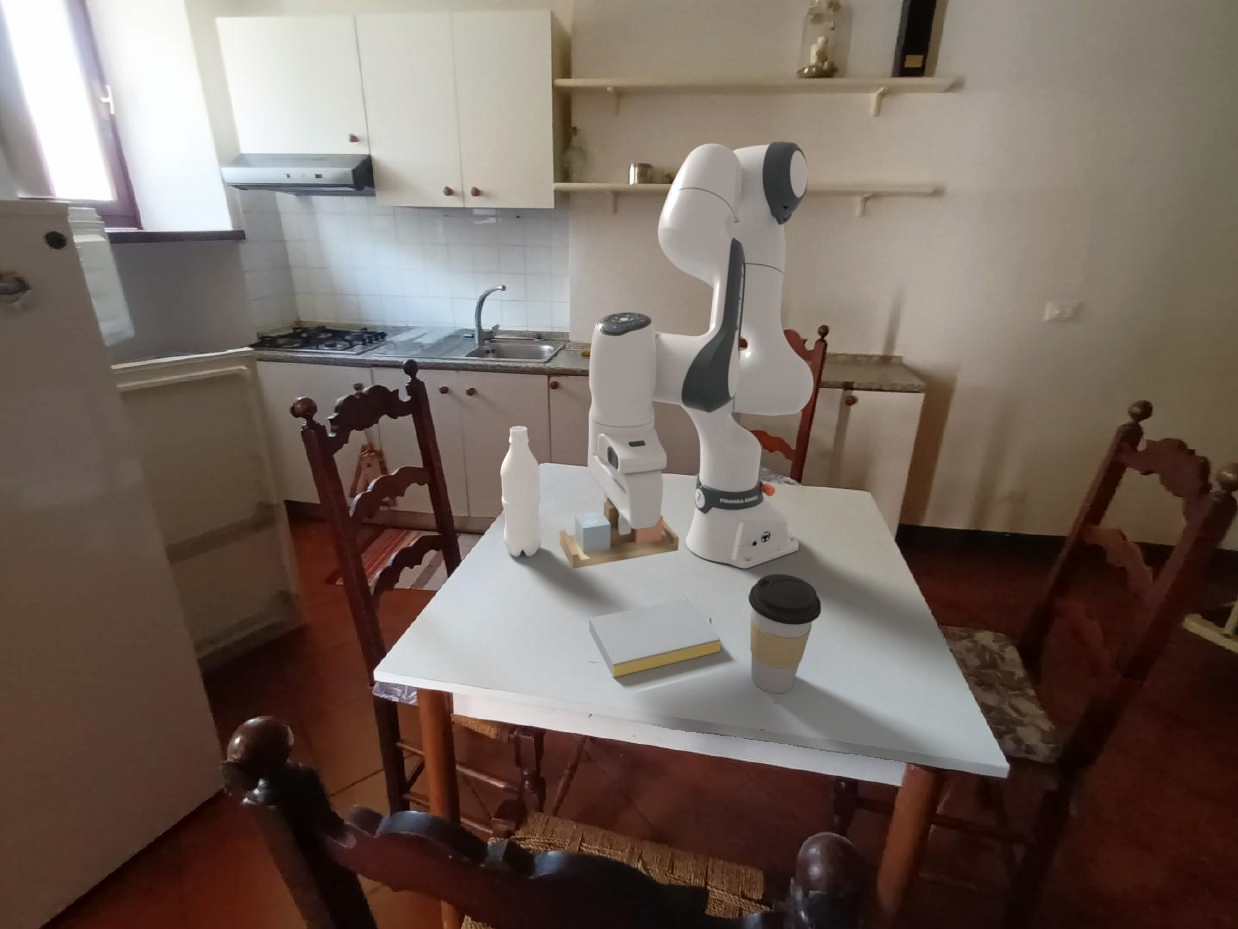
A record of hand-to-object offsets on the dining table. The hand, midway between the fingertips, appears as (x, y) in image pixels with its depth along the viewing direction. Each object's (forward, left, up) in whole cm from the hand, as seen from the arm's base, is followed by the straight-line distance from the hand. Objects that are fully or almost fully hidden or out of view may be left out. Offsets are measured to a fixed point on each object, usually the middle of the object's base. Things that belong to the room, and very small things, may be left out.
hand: (619, 526), depth 88 cm
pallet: (0, 0, -4) cm, 4 cm away
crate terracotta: (-4, 0, -2) cm, 5 cm away
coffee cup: (-18, +17, -19) cm, 31 cm away
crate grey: (+4, 0, -2) cm, 5 cm away
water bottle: (+8, -29, -19) cm, 36 cm away
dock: (-5, +4, -19) cm, 20 cm away
